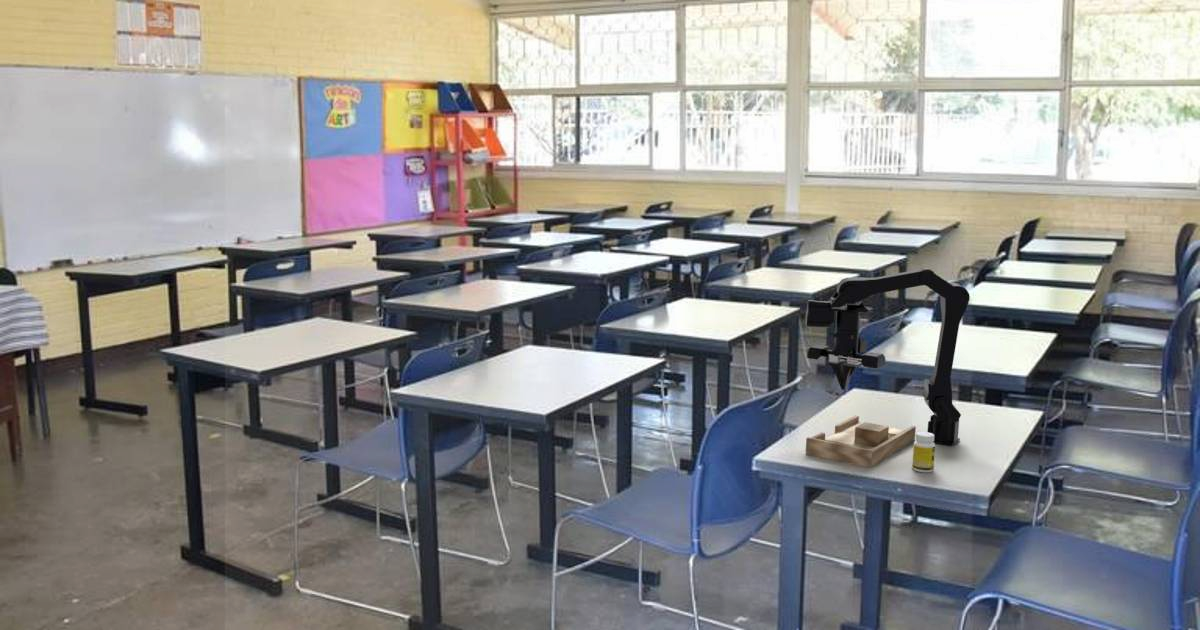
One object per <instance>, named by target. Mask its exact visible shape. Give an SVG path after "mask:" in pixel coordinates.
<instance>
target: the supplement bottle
mask: <svg viewBox="0 0 1200 630" xmlns="http://www.w3.org/2000/svg"><path fill="white" fill-rule="evenodd" d="M933 441H934V434H932V433H929V432H927V431H918V432H917V431H916V432H915V440H914V441H913V449H912V463H911V468H912V470H914V472H915V471H916V472H920V473H932V472H933V471H934V470H935V469H934V468H935V457H936V456H935V454H936V443H934V442H933Z"/></svg>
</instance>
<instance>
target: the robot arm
mask: <svg viewBox="0 0 1200 630" xmlns="http://www.w3.org/2000/svg"><path fill="white" fill-rule="evenodd" d="M922 286H926V287H928V288H929V289H930V290H932V291H933V292H935V293H936V294H938V295H939V296H940V298H939V299H940V311H941V324H940V331H939V337H938V343H937V349H936V354H935V355H936V356H935V359H934V360H935V361H934V368H933V373H932V376H931V377H930V379H927V378H924V380H923V390H922V392H921V395H922V396H923V400H924V402H925V404H926V406H927V407H928V408H929V410H930V411H931V412H932V415H931V416H930V417H929V418H930V419H929V421H927V431H926V432H929V433H932V434H934V441H933V442H934V443H935V444H941V445H946V446H951V447H952V446H954V445H955V444H957V443H958V442H959V441H960V440H961V438H959V428H960V418H961V416H962V413H960V411H959V410H958V409H957V407H955V405H954V404H953V387H952V377H951V376H952V372H953V371H952V370H953V365H954V359H955V353H956V347H957V341H958V340H957V339H958V334H959V327H960V324H961V321H962V319H963V317H964V315H965V313H966V311H967V308H968V305H969V302H970V298H971V297H970V293H969V291H968V289H966V288H965V287H964V286H962V285H960V284H959V283H956V282H948V281H947V280H945V279H944V278H942V277H940V276H939V275H937V274H936V273H935V272H934V271H933V270H932V269H931V268H928V267H921V268H919V269H915V270H914V269H913V270H910V271H903V272H898V273H893V274H888V275H887V274H886V275H882V276H877V277H864V276H863V277H861V276H860V277H857V276H855V277H854V276H853V277H845V278H843V279H840V281H839V283H838V284H837V286H836V291H835V292H834V294H832V295H831V297H830V298H829V299H828V301H827V300H824V301H823V300H814V299H808V300H807V306H806V311H805V327H806V328H823V329H829V328H830V326H832V325H833V324H834V322H835V328H834V329H835V330H834V331H835V332H833V334H832V337H833V338H834V347H833V348H832V349H831V348H830V345H822V344H815V345H812V346H809V347H808V348H807V351H806V359H811V360H819V359H820V358H821V357H826V358H829V359H828V362H827V365H829V366H830V367H831V369H832V370H833V372H834V374H835V376H836V379H837V383H838V384H839V387H840V389H841V391H842V390H843V391H846V390H847V387H848V385H849V383H850V380H851V378H852V376H853V374H854V372H855V371H856V369H857V368H859V367H861V366H863V367H864V368H869V369H879V368H881V367H884V366H886V357H885V355H884V354H883V353H879V352H871V351H869V352H867V346H868V341H867V340H865V339H863V338H862V334H861V333H862V332H861V331H860V319H861V317H860V316H861V313H868V312H869V309H868V308H867V307H866V306H865V304H864V303H863V301H864V300H866V299H868V298H871V297H873V296H874V295H878V294H881V293H888V292H889V293H890V292H893V291H894V292H895V291H898V290H899V291H900V290H904V289H910V288H916V287H922ZM856 303H857V304H856ZM835 312H836V313H835ZM835 314H836V316H835ZM866 352H867V353H866Z"/></svg>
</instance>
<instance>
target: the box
mask: <svg viewBox="0 0 1200 630" xmlns="http://www.w3.org/2000/svg"><path fill="white" fill-rule="evenodd" d="M859 420H860V416H859V415H853V416H851V417H850V418H848V419H845V420H844V421H841V422H840V423H838V424H836V425H835V426H834V434H832V435H830V436H828V437H826V432H820V433H818V434H816V435H814V436H812V437H811V436H807V437H806V438H805V441H806V442H805V455H808V456H813V457H817V458H821V457H822V458H823V459H826V458H827V460H831V461H837V462H840V463H841V462H842V463H846V464H850V463H851V465H856V466H860V467H864V466H865V468H869V467H870V468H872V467H873V466H875V465H876V464H878V463H879V461H880V462H881V461H883V460H884V458H885V459H886V458H887V456H888V457H889V456H891V455H893V454H894V453H896V452H897V451H900V450H901V449H902V448H904V447H906V446H907V445H909V444H910V442H911V443H912V442H915V441H916V425H911V426H909V427H907V428H906V429H900V428H894V427H889V431H888V440H886V441H885V442H883V443H881V444H880V445H878V446H876V447H871V446H866V445H861V444H855V443H854V440H855V427H857V426H859V425H860V424H862V423H863V422H862V421H859ZM892 453H893V454H892ZM882 459H883V460H882ZM874 464H875V465H874ZM871 466H872V467H871Z"/></svg>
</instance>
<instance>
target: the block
mask: <svg viewBox="0 0 1200 630" xmlns="http://www.w3.org/2000/svg"><path fill="white" fill-rule="evenodd" d="M889 426H890V425H889ZM889 426H888V425H883V424H877V423H872V422H866V421H865V422H862V424H860V425H859V426H857V427H855V440H854V443H855V444H861V445H866V446H871V447H876V446H878V445H880V444H881V443H883V442H885V441H886V440H888V431H889V428H890V427H889Z"/></svg>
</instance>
